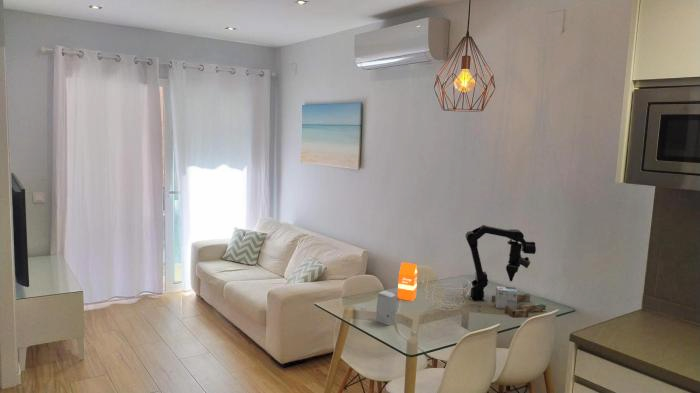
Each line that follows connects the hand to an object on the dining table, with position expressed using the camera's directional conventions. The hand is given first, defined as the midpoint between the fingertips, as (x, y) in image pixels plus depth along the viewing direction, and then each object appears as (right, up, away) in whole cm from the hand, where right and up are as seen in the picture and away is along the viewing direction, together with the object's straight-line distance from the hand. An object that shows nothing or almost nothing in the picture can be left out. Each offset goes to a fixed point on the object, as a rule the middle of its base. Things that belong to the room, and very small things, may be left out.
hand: (511, 279), depth 285 cm
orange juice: (-59, -11, +1) cm, 60 cm away
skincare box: (-74, -16, -35) cm, 83 cm away
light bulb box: (-6, -14, -7) cm, 17 cm away
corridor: (+2, -15, -9) cm, 17 cm away
